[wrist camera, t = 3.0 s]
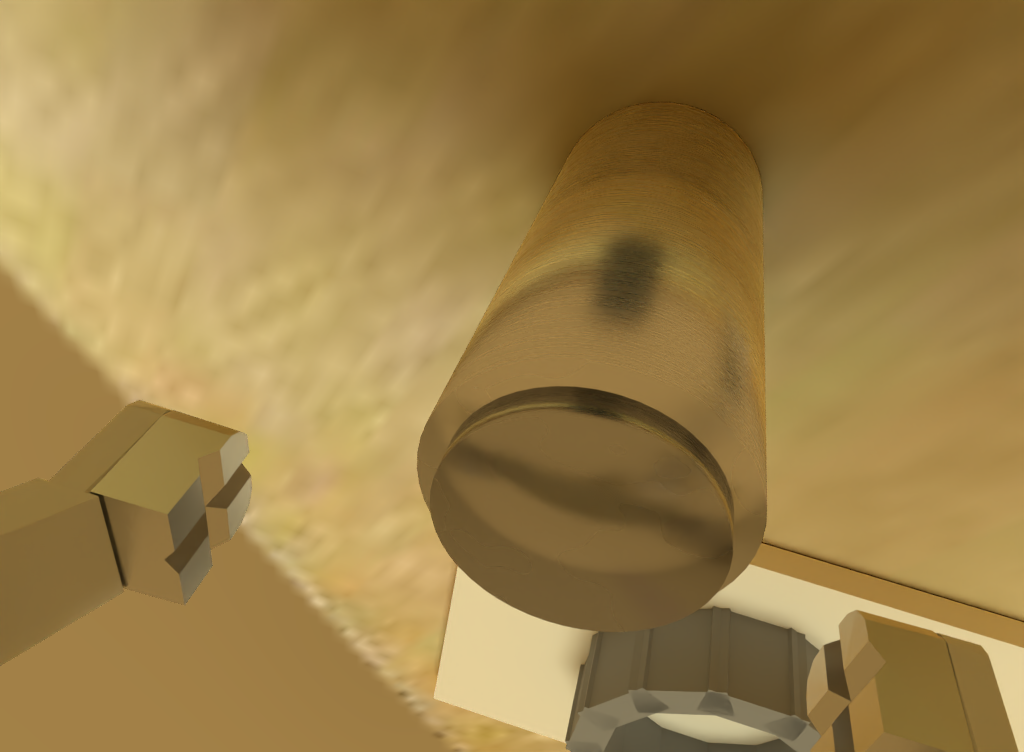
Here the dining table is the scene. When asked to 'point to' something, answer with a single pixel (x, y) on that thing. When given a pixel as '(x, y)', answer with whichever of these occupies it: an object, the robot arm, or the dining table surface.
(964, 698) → the robot arm
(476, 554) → the cylinder
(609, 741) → the ring block
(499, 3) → the dining table surface
